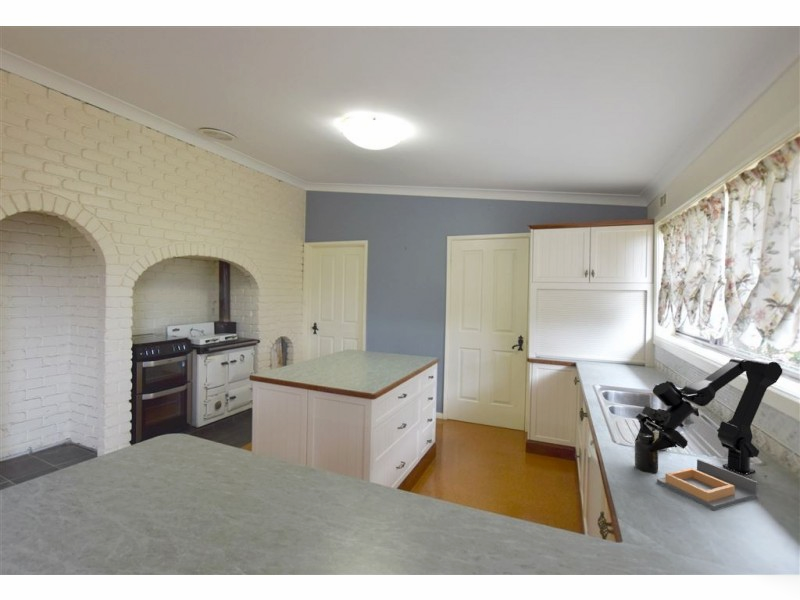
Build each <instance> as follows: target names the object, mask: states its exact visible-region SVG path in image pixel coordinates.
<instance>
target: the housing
mask: <svg viewBox="0 0 800 600" xmlns="http://www.w3.org/2000/svg"><path fill="white" fill-rule="evenodd" d="M696 459H697V458H696ZM696 461H697V462H696V469H695V468H693V467H689V468H685V469H679V470H677V471H672V472H668V473H665V475H664V477H660V478H657V479H656V484H658V485H661V486H662V487H664V488H667V489H669V490H670V491H673V492H675V493H676V494H679V495H681V496H684V497H685V498H687V499H689V500H691V501H693V502H695V503H697V504H699V505H701V504H702V505H701V506H703V505H704V506H703V507H705V506H706V507H705V508H707V509H709V508H710V510H711V511H716V510H717V511H718V510H719V509H723V508H727V507H729V506H734V505H736V504H740V503H743V502H747V501H751V500H754V499H757V498H758V485H759V484H758V481H757V480H754V479H751V478H749V477H746V476H743V475H742V474H740V473H739V474H738V473H737V472H736V473H735V472H734V471H732V470H729V469H727V468H724V467H720V466H717V465H715V464H713V463H711V462H707V461H704V460H703V459H699V458H698V459H697V460H696Z"/></svg>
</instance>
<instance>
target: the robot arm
mask: <svg viewBox="0 0 800 600" xmlns="http://www.w3.org/2000/svg"><path fill="white" fill-rule="evenodd" d="M744 373H745V376H746V379H747V382H746V383H747V384H746V385H745V388H744V390H743V392H742V395H741V397H740V399H739V402H738V403H737V405H736V408H735V409H734V410H735V411H734V413H733V415H732V417H731V419H730V420H728V421H724V420H722V421H721V422H720V425H719V428H718V429H717V430H716V432H718V433H717V438H718V440H719V441H720V443H721V446H722V447H723V448H725V449H727V450H728V451H727V463H725V464H722V468H725V467H726V468H725V469H728V468H729V469H728V470H731V469H732V470H731V471H733V470H735V471H734V472H736V471H737V472H736V473H738V472H740V473H739V474H741V473H743V474H742V475H744V474H745V475H747V474H746V473H749V474H751V473H750V472H753V471H756V470H755V469H753V468H752V467H751V458H753V459H754V458H757V457H758V456H759V454H760V450H759V449H758V448H757V447H756V446H755V445H754V444H753V443H752V442H753V433H752V428H751V425H752V423H753V421H754V419H755V416H756V414H757V412H758V409H759V407H760V405H761V404H762V400H763V399H764V395H765V394H766V391H767V389H768V388H769V387H771V386H773V385H774V384H776V383H777V382H778V380H779V379H780V377H781V376H782V374H783V368H782V366H781V365H780V363H778V362H775V361H771V360H766V359H762V358H753V359H750V360H749V359H744V358H739V357H733V358H730V359H729V361H728V362H726V364H724V365H723V366H721V367H720V368H718V369H717V370H715V371H714V372H713V373H711V374H710V375H708V376H707V377H706V378H704V379H702V380H699V381H694V382H691V383H688V384H686V385H685V386H683V388H678V387H677V386H676V385H675V384H674V383H673V381H669V380H666V381H665V382H662V383H659V384H656V385H655V386H654V387H653V389H652V393H653V395H655V397H657V398H658V400H660V402H661V403H663V405H664V406H666V407H668V408H667V409H663V408H658V409H655V408H653V407H652V406H651V407H650V406H649V405H645V406H644V408H643V409H642V412H641V413H638V414H637V415H636V416H635V419H637V421H638V423H639V430H638V433H639V432H647V433H651V434H653V435H655V434H654V433H653V432H652V431H655V430H657V431H659V437H658V438H657V440H656V441H655V442H654V443H653V444H652V445H651V446H650V448H649V449H648V450H649V451H650V452H654V451H658V452H659V451H663V450H662V449H666V448H667V449H669V448H670V449H671V448H678V447H679V448H681V449H683V450H684V449H685V448H686V447H687V446H688V443H689V442H688V440H687V439H686V438H685V437H684V436H683V434H681V433H680V431H678V430H676V429H678V428H683V427H684V426H685V425H684V424H683V423H684V422H685V421H686V420H687V419H688V418H689V417H690V416H691V415H693V416H695V417H700V412H699V408H698V407H696V406H699V407H705V406H708V405H709V404H710V403H711V402H712V401H713V400H714V399H715V397H716V394H717V392H718V391H720V390H721V389H722V388H724V387H725V386H726V385H728V384H729V383H731V382H732V381H733V380H735V379H737V378H738V377H740V376H741V375H742V374H744ZM692 404H693V405H696V406H693V405H692ZM636 440H638V434H637V435H636V438H635V440H634V442H635V441H636ZM753 473H754V472H753Z"/></svg>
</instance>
